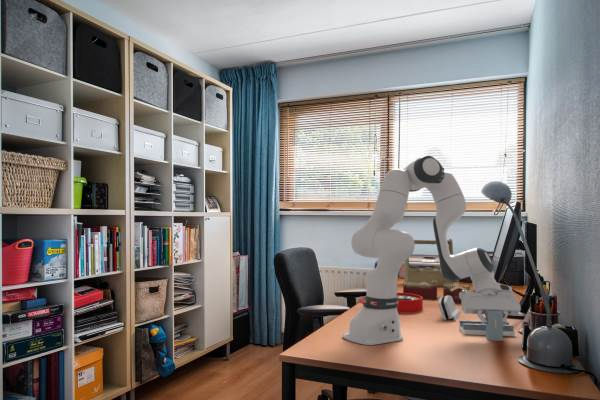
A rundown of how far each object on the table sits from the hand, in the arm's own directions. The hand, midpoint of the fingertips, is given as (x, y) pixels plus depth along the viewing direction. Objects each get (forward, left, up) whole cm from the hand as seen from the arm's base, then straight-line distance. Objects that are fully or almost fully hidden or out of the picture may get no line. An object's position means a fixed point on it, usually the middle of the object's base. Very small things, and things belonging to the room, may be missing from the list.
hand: (494, 323), depth 157 cm
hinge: (+20, +31, -6) cm, 37 cm away
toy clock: (+16, +55, -6) cm, 57 cm away
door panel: (0, 0, -6) cm, 6 cm away
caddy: (+87, +89, -6) cm, 125 cm away
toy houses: (+47, +63, -6) cm, 79 cm away
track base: (+7, +7, -6) cm, 12 cm away
